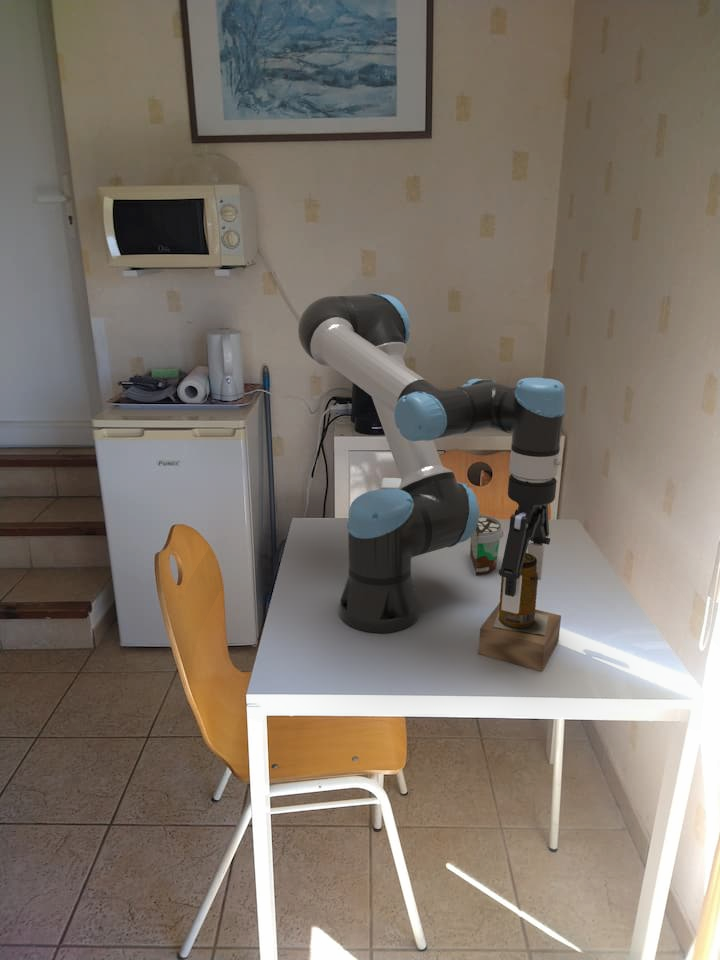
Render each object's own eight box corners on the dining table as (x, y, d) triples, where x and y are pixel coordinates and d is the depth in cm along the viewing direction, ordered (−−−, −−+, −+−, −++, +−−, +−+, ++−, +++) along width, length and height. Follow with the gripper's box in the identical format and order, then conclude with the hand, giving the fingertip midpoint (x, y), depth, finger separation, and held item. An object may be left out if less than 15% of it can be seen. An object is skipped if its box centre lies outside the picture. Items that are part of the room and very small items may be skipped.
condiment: (500, 608, 128) (504, 546, 124) (548, 616, 125) (554, 553, 121) (493, 627, 121) (497, 563, 117) (544, 636, 118) (550, 571, 115)
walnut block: (478, 653, 123) (480, 628, 121) (498, 625, 132) (500, 601, 130) (542, 671, 118) (544, 644, 116) (558, 640, 127) (561, 615, 125)
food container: (505, 578, 150) (508, 534, 147) (476, 578, 150) (478, 534, 147) (496, 554, 162) (499, 513, 159) (469, 554, 162) (471, 513, 159)
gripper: (534, 503, 103) (522, 632, 110) (574, 459, 123) (562, 570, 130) (484, 494, 106) (476, 620, 113) (531, 452, 127) (522, 561, 134)
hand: (522, 593), depth 122 cm, fingers open, 13 cm apart
